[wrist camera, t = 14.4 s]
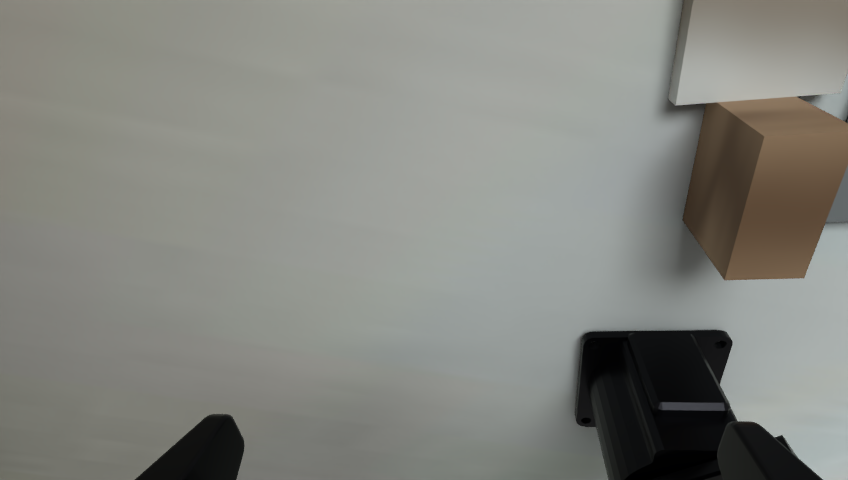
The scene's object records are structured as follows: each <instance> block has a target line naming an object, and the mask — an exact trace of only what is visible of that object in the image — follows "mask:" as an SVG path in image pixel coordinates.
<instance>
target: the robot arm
mask: <svg viewBox="0 0 848 480" xmlns="http://www.w3.org/2000/svg"><path fill="white" fill-rule="evenodd" d="M594 341H595V342H596V343H591V342H594ZM718 341H719V342H718ZM731 347H732V340H731V338H730V337H729V335H728V334H727V332H725V331H721V330H698V331H605V332H589V333H587V334H585V335H584V336H583V338H582V343H581V355H580V366H579V377H578V388H577V399H576V410H575V416H576V421H577V423H578V424H579V425H580V426H585V427H596V428H597V432H598V437H599V441H600V445H601V449H602V454H603V458H604V462H605V466H606V471H607V475H608V479H609V480H823V479H822V478H820V477H819V476H818V475H817V474H816V473H815V472H813V471H812V470H811V469H810V468H809V467H808V466H807V465H805V464H804V463H803V462H802V461H801V460H800V459H799V458H798V457H797V456H796V454H795V453H794V451H793V450H792V449H791V447H790V446H789V444H788V443H787V441H786V440H785V438H784V437H783V436H782V435H781V436H778V437H775V438H774V437H773V436H772V435H771V434H770V433H769V432H767V431H766V430H765V429H764V428H763V427H762V426H760V425H759V424H757V423H755V422H738V421H737V419H736V417H735V415H734V413H733V411H732V409H731V407H730V404H729V402H728V400H727V398H726V396H725V394H724V392H723V390H722V389H721V387H720V382H721V378H722V375H723V372H724V369H725V366H726V363H727V360H728V357H729V353H730V350H731ZM243 453H244V440H243V437H242V435H241V433H240V431H239V429H238V427H237V425H236V423H235V421H234V419H233V417H232V416H230V415H228V414H212V415H209V416H207V417H206V418H204V419H203V420H202V421H201V422H200V423H199V424H197V425H196V426H195V427H194V428H193V429H192V430H191V431H189V432H188V433H187V434H186V435H185V436H184V437H183V438H182V439H180V440H179V441H178V442H177V443H176V444H175V445H174V446H172V447H171V448H170V449H169V450H168V451H167V452H166V453H165V454H163V455H162V456H161V457H160V458H159V459H158V460H157V461H155V462H154V463H153V464H152V465H151V466H150V467H149V468H148V469H146V470H145V471H144V472H143V473H142V474H141V475H140V476H139V477H137V478H136V479H135V480H236V479H237V475H238V471H239V468H240V464H241V460H242V457H243Z"/></svg>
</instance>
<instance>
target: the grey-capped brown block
mask: <svg viewBox="0 0 848 480" xmlns="http://www.w3.org/2000/svg"><path fill="white" fill-rule="evenodd" d="M847 73H848V0H684V2H683V8H682V15H681V21H680V27H679V33H678V40H677V46H676V52H675V58H674V65H673V71H672V77H671V83H670V90H669V96H668V99H669V100H670V101H671V102H672V103H673V104H674V105H689V104H702V103H706V107H705V112H704V117H703V121H702V126H701V131H700V136H699V141H698V146H697V151H696V156H695V161H694V166H693V171H692V176H691V180H690V185H689V190H688V195H687V200H686V205H685V210H684V215H683V221H684V223H685V224H686V226H687V227H688V229H689V230H690V231H691V233H692V234H693V236H694V237H695V239H696V240H697V241H698V243H699V244H700V246H701V247H702V249H703V250H704V251H705V253H706V254H707V256H708V257H709V259H710V260H711V261H712V263H713V264H714V266H715V267H716V269H717V270H718V271H719V273H720V274H721V276H722V277H723V279H724V280H749V279H788V278H804V277H805V274H806V272H807V269H808V266H809V264H810V261H811V259H812V256H813V253H814V251H815V248H816V246H817V243H818V241H819V238H820V235H821V233H822V230H823V228H824V225H825V222H826V220H827V217H828V215H829V212H830V210H831V207H832V204H833V202H834V199H835V197H836V194H837V191H838V189H839V186H840V184H841V181H842V179H843V176H844V173H845V171H846V168H847V166H848V123H846V122H844V121H842V120H840V119H838V118H836V117H834V116H833V115H831V114H829V113H827V112H825V111H823V110H821V109H819V108H817V107H815V106H813V105H811V104H810V103H808V102H806V101H804V100H802V99H800V98H798V97H796V96H809V95H822V94H836V93H841V90H842V87H843V84H844V81H845V78H846V75H847Z"/></svg>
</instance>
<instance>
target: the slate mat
mask: <svg viewBox="0 0 848 480" xmlns="http://www.w3.org/2000/svg"><path fill="white" fill-rule="evenodd" d="M846 123H848V119H847V122H846ZM826 222H848V166H847V168H846V171H845V173H844V176H843V179H842V181H841V184H840V186H839V189H838V191H837V194H836V197H835V199H834V202H833V204H832V207H831V210H830V212H829V215H828V217H827V220H826Z"/></svg>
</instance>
